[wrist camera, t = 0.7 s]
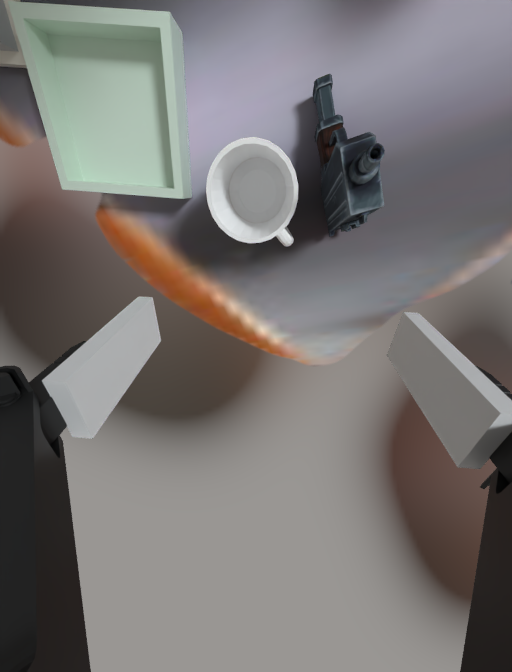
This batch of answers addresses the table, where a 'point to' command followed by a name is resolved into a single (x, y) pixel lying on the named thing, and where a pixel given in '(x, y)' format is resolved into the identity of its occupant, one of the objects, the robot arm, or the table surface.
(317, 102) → the gun
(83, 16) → the parts tray
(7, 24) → the panel
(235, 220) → the mug
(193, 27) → the table surface
